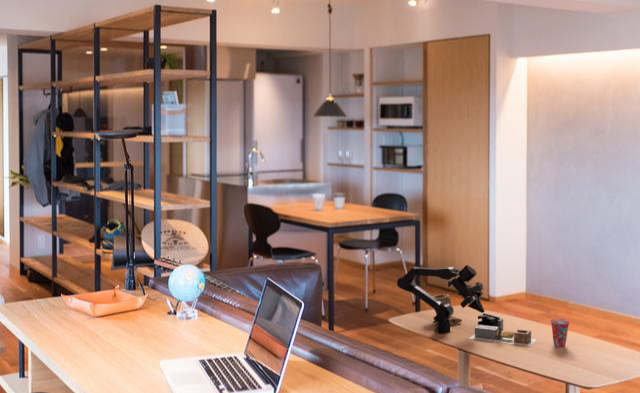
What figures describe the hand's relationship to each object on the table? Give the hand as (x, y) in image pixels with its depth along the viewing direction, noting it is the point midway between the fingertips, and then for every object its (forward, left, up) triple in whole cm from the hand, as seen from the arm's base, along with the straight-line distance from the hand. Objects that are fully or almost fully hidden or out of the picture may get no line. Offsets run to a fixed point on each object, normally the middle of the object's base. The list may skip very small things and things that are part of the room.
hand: (483, 312), depth 395 cm
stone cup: (-6, +32, -13) cm, 35 cm away
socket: (+14, -14, -12) cm, 23 cm away
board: (+7, -7, -13) cm, 16 cm away
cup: (+27, -25, -13) cm, 39 cm away
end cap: (+11, +15, -13) cm, 23 cm away
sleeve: (+1, -1, -12) cm, 12 cm away
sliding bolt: (+4, -4, -12) cm, 13 cm away
